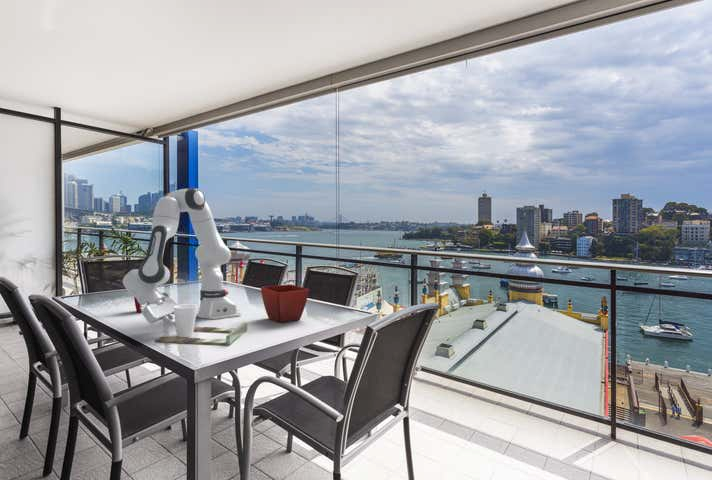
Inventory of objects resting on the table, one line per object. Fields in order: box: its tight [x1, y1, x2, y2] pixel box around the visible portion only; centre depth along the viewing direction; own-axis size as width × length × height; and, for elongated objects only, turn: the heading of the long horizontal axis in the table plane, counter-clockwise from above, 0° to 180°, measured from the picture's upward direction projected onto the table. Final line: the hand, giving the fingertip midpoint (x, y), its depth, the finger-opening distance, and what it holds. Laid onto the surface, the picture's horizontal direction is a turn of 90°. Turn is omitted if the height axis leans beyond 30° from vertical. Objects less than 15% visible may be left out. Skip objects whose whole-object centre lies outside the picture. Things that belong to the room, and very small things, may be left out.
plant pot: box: [260, 284, 309, 324], centre depth 201 cm, size 19×19×17 cm
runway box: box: [154, 321, 248, 346], centre depth 166 cm, size 32×22×4 cm
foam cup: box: [174, 303, 198, 338], centre depth 166 cm, size 10×9×13 cm
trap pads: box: [182, 326, 218, 342], centre depth 166 cm, size 6×22×1 cm, turn 178°
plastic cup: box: [133, 296, 142, 314], centre depth 207 cm, size 11×11×12 cm
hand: (173, 324), depth 166 cm, fingers closed
